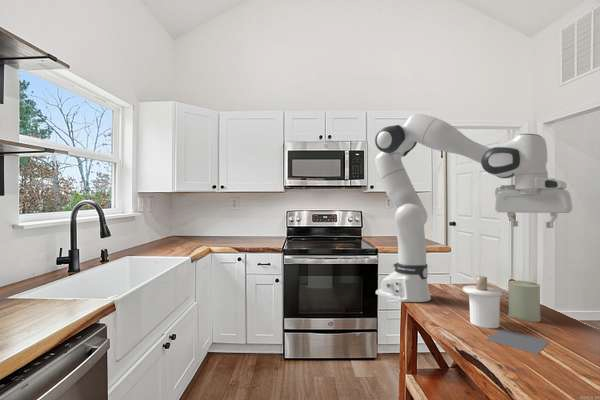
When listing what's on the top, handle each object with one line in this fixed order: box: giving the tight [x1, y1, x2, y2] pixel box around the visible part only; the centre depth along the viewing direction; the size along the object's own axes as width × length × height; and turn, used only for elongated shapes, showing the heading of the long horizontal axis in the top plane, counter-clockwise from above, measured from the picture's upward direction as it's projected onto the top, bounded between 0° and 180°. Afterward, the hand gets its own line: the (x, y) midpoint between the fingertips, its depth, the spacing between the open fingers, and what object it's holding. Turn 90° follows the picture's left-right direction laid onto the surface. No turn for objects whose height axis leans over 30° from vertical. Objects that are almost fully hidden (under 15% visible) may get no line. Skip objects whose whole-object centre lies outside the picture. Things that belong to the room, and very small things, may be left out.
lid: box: [462, 275, 503, 298], centre depth 106 cm, size 11×11×5 cm
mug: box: [468, 294, 501, 329], centre depth 106 cm, size 11×9×10 cm
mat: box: [485, 328, 550, 355], centre depth 91 cm, size 12×12×1 cm
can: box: [507, 280, 542, 323], centre depth 112 cm, size 9×9×12 cm
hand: (531, 227), depth 106 cm, fingers open, 8 cm apart
